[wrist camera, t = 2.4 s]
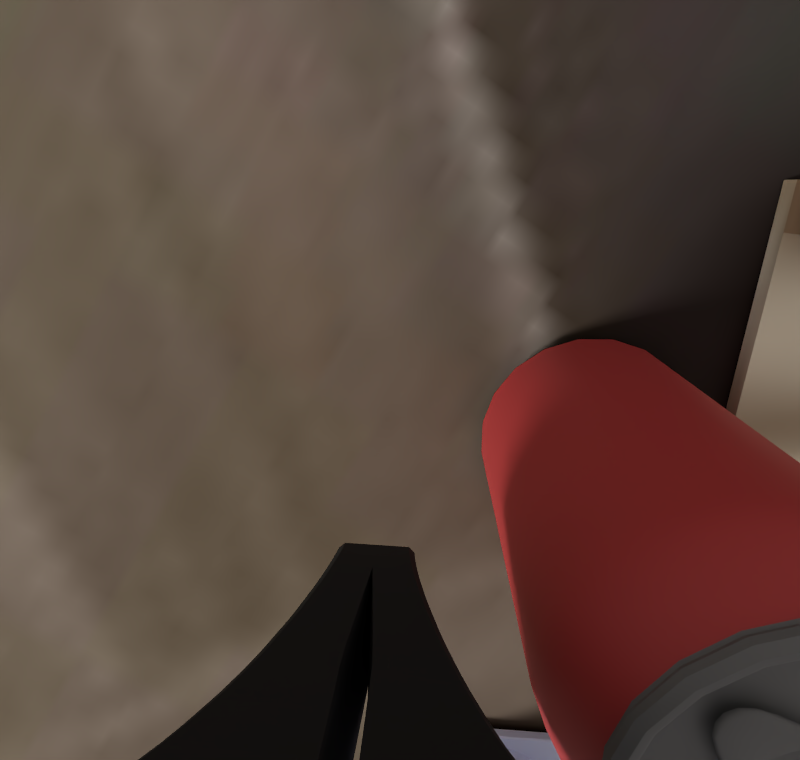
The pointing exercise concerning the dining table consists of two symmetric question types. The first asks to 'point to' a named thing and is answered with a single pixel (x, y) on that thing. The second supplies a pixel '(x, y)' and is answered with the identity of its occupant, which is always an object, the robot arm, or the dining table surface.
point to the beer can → (647, 559)
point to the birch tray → (774, 336)
